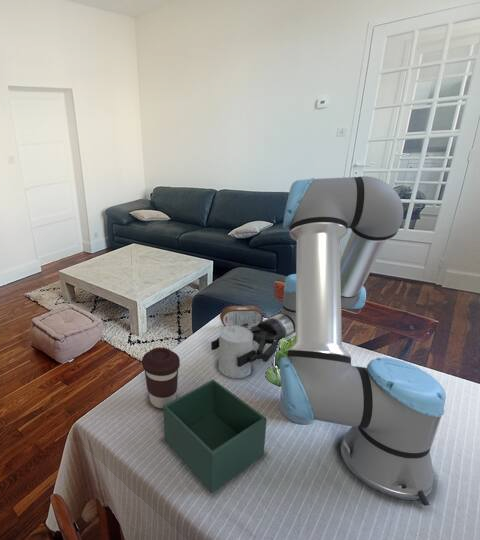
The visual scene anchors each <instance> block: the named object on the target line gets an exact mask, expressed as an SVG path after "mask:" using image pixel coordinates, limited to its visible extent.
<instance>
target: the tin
mask: <svg viewBox="0 0 480 540" xmlns="http://www.w3.org/2000/svg"><path fill="white" fill-rule="evenodd" d="M219 319H220V321H221V323H222V325H223V327H225V326H229V325H237V326H241V325H243V324H245V323H247V324H248V326H249V327H251V328H252V327H257V326H258V325H259V323H261V322H263V321H264V314H263V312H262V310H261V309H260V308H259V307H258V306H256V305H231V306H226V307H225V308H223V309H222V310H221V312H220V314H219Z"/></svg>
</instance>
